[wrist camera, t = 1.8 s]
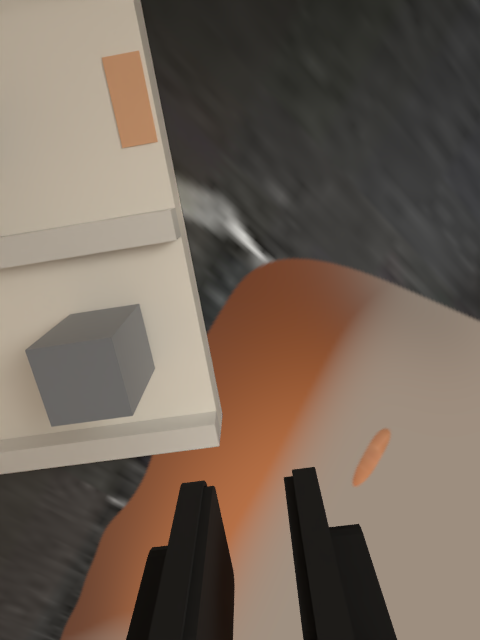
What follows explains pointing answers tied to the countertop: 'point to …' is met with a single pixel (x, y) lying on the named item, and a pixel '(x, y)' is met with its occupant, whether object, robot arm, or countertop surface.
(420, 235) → the countertop surface
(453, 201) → the countertop surface
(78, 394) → the tab
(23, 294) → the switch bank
